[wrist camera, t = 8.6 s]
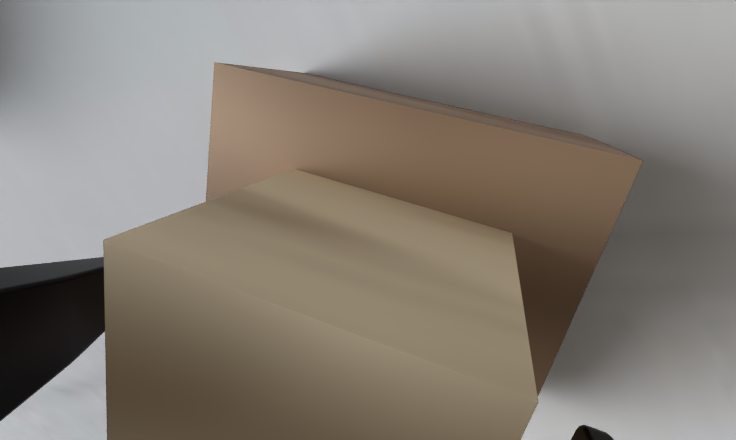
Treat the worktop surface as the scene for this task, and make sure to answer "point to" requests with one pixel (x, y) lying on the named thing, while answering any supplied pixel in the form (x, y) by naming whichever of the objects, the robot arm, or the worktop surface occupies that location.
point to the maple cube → (315, 321)
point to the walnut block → (434, 173)
